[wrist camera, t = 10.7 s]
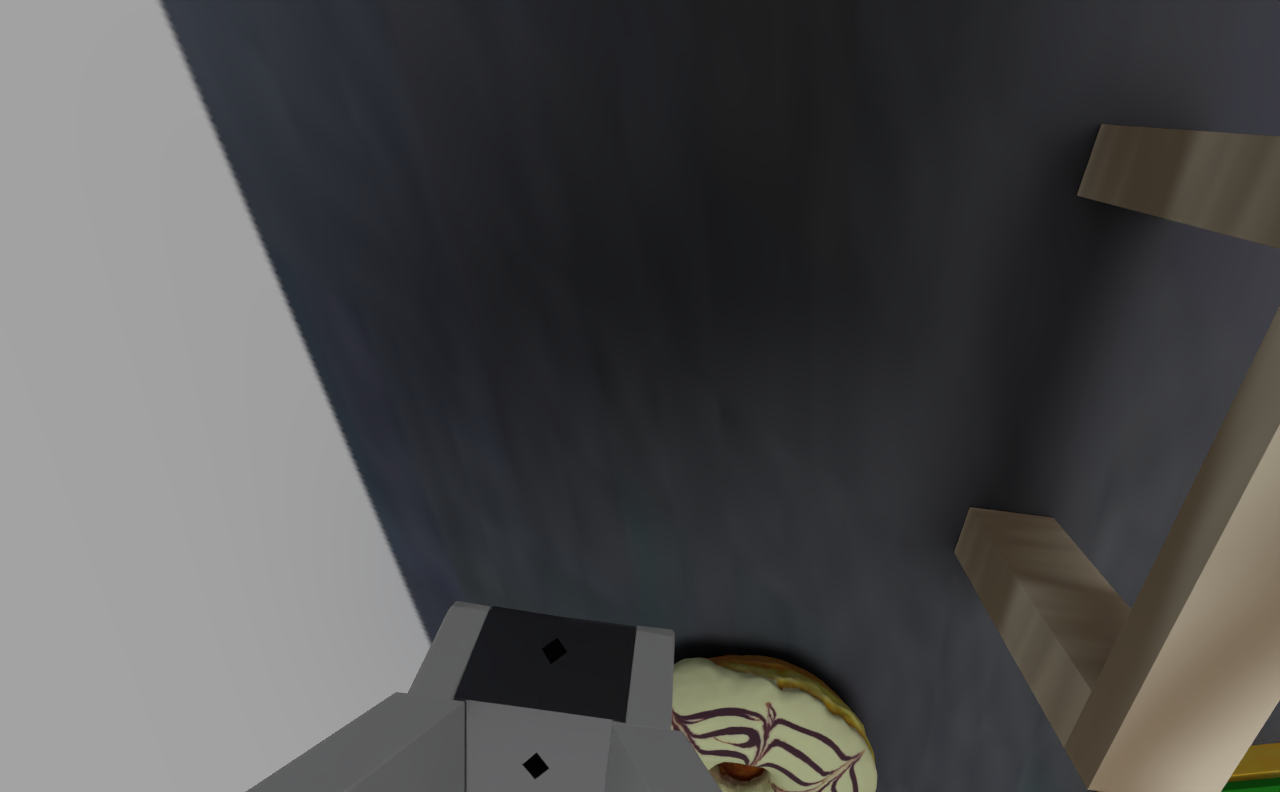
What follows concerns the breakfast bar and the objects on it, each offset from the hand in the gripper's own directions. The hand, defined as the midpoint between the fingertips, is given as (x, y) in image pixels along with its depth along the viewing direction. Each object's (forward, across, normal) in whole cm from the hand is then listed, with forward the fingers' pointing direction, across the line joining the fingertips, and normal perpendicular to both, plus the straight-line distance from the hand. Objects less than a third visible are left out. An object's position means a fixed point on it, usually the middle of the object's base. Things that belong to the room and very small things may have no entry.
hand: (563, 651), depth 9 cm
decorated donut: (+16, -6, +18) cm, 24 cm away
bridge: (+15, -14, 0) cm, 21 cm away
